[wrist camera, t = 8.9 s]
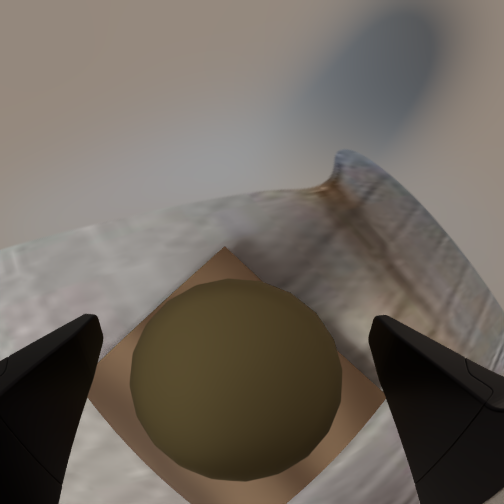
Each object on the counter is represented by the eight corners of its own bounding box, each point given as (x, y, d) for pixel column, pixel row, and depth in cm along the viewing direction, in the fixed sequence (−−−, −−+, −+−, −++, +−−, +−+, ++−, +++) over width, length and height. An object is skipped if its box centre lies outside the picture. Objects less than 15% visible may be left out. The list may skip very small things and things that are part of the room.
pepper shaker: (160, 367, 15) (47, 349, 5) (242, 302, 17) (251, 192, 7) (230, 448, 14) (223, 556, 4) (312, 379, 15) (427, 380, 5)
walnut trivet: (239, 527, 13) (239, 540, 11) (87, 382, 16) (74, 383, 14) (377, 395, 17) (389, 396, 15) (225, 255, 20) (224, 244, 18)
